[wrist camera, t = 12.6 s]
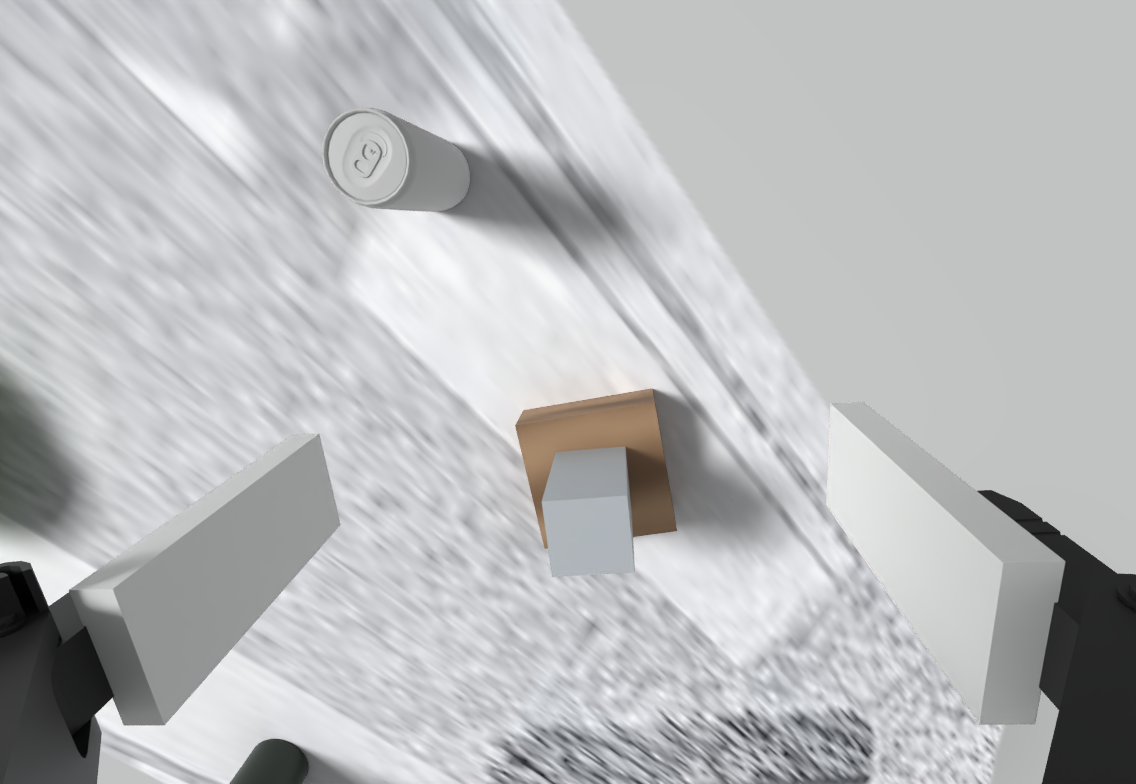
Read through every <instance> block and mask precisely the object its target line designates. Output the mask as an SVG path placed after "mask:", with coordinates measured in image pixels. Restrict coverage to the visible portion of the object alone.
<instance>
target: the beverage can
mask: <svg viewBox="0 0 1136 784" xmlns="http://www.w3.org/2000/svg"><path fill="white" fill-rule="evenodd" d="M322 156H323V164H324V167H325V170H326V173H327V175H328V178H329V179H330V181H331V182H332V184H333V185H334V187H335V188H336V189H337V190H338V191H339V192H340V193H341V194H342V195H343V196H345V197H346V198H348V199H350V200H352V201H353V202H355V203H357V204H359V205H362V206H366V207H370V208H378V209H393V210H409V211H429V212H437V211H444V210H447V209H450V208H452V207H454V206H455V205H457V204H459V203H460V201H461V200H462V199H463V198H464V197H465V195H466V193H467V191H468V189H469V184H470V169H469V166H468V163H467V160H466V158H465V157H464V155H463V153H462V152H461V151H460V150H459V149H458V148H457V147H456V146H455V145H454V144H452V143H450V142H448V141H447V140H445V139H443V138H440V137H438V136H436V135H434V134H432V133H430V132H428V131H426V130H424V129H421V128H419V127H417V126H415V125H413V124H411V123H409V122H407V121H405V120H403V119H400V118H398V117H396V116H394V115H392V114H390V113H388V112H386V111H382V110H378V109H374V108H357V109H352V110H349V111H346V112H344V113H342V114H341V115H340V116H338V117H337V118H336V119H335V120H334V121H333V122H332V124H331V125H330V126H329V128H328V129H327V132H326V135H325V137H324V140H323V149H322Z"/></svg>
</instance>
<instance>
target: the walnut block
mask: <svg viewBox="0 0 1136 784" xmlns="http://www.w3.org/2000/svg"><path fill="white" fill-rule="evenodd" d="M515 426H516V431H517V435H518V439H519V443H520V447H521V451H522V456H523V460H524V464H525V468H526V472H527V477H528V481H529V485H530V489H531V493H532V497H533V502H534V506H535V510H536V514H537V518H538V522H539V527H540V531H541V535H542V539H543V543H544V547H545V548H548V543H547V536H546V529H545V522H544V515H543V508H542V499H543V495H544V492H545V488H546V485H547V481H548V477H549V474H550V470H551V467H552V463H553V460H554V456H555V453H556V452H562V451H574V450H587V449H599V448H612V447H624V446H625V447H626V458H627V468H628V478H629V488H630V499H631V509H632V528H633V537H635V536H643V535H650V534H658V533H665V532H673V531H677V528H676V522H675V517H674V511H673V505H672V499H671V493H670V488H669V482H668V476H667V470H666V464H665V458H664V453H663V447H662V441H661V435H660V429H659V424H658V418H657V412H656V406H655V400H654V395H653V389H647V390H641V391H635V392H629V393H623V394H618V395H612V396H606V397H600V398H594V399H588V400H582V401H576V402H570V403H564V404H559V405H553V406H547V407H541V408H535V409H529V410H524V411H523V412H522V414H521V416H520V418H519V420H518V422H517V424H516V425H515Z"/></svg>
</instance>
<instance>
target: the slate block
mask: <svg viewBox="0 0 1136 784" xmlns="http://www.w3.org/2000/svg"><path fill="white" fill-rule="evenodd" d="M542 508H543V515H544V522H545V529H546V536H547V543H548V551H549V558H550V565H551V572H552V577H558V576H575V575H593V574H611V573H628V572H635V567H634V547H633V528H632V509H631V499H630V488H629V478H628V468H627V458H626V447H625V446H624V447H612V448H599V449H587V450H574V451H562V452H556V453H555V456H554V460H553V463H552V467H551V470H550V474H549V477H548V481H547V485H546V488H545V492H544V495H543V499H542Z"/></svg>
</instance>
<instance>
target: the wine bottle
mask: <svg viewBox="0 0 1136 784" xmlns="http://www.w3.org/2000/svg"><path fill="white" fill-rule="evenodd" d="M307 773H308V763H307V760H306V758H305V756H304V754H303V753H302V752H301V751H300V750H299V749H298V748H297V747H295V746H294V745H292V744H291V743H288V742H286V741H283V740H277V739H271V740H266V741H263V742H261V743H259V744H258V745H257V746H256V747H255V748H254V750H253V751H252V753H251V754H250V755H249V757H248V758H247V760H246V761H245V762H244V764H243V765H242V767H241V768H240V770H239V771H238V772H237V774H236V775H235V777H234V778H233V780H232V781H231V782H230V784H302V782H303V781H304V779H305V777H306V775H307Z"/></svg>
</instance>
